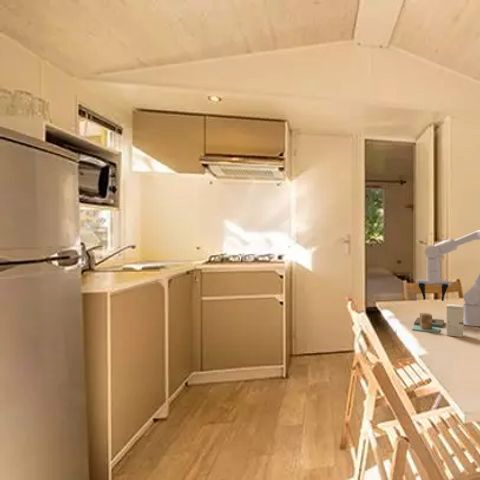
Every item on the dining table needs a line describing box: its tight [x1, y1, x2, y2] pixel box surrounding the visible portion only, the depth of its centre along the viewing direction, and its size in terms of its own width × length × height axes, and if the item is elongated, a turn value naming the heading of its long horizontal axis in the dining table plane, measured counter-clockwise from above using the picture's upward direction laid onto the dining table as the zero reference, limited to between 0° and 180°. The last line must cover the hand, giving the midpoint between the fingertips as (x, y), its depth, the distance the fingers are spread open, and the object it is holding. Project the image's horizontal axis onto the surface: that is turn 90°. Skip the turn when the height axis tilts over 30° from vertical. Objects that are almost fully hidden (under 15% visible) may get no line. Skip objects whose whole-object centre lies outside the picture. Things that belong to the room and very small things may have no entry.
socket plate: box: [413, 317, 445, 329], centre depth 173 cm, size 11×11×1 cm
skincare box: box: [445, 303, 464, 338], centre depth 154 cm, size 6×4×12 cm
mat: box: [411, 324, 441, 334], centre depth 163 cm, size 10×7×1 cm
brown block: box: [419, 312, 433, 330], centre depth 163 cm, size 4×4×6 cm
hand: (433, 299), depth 180 cm, fingers open, 7 cm apart
